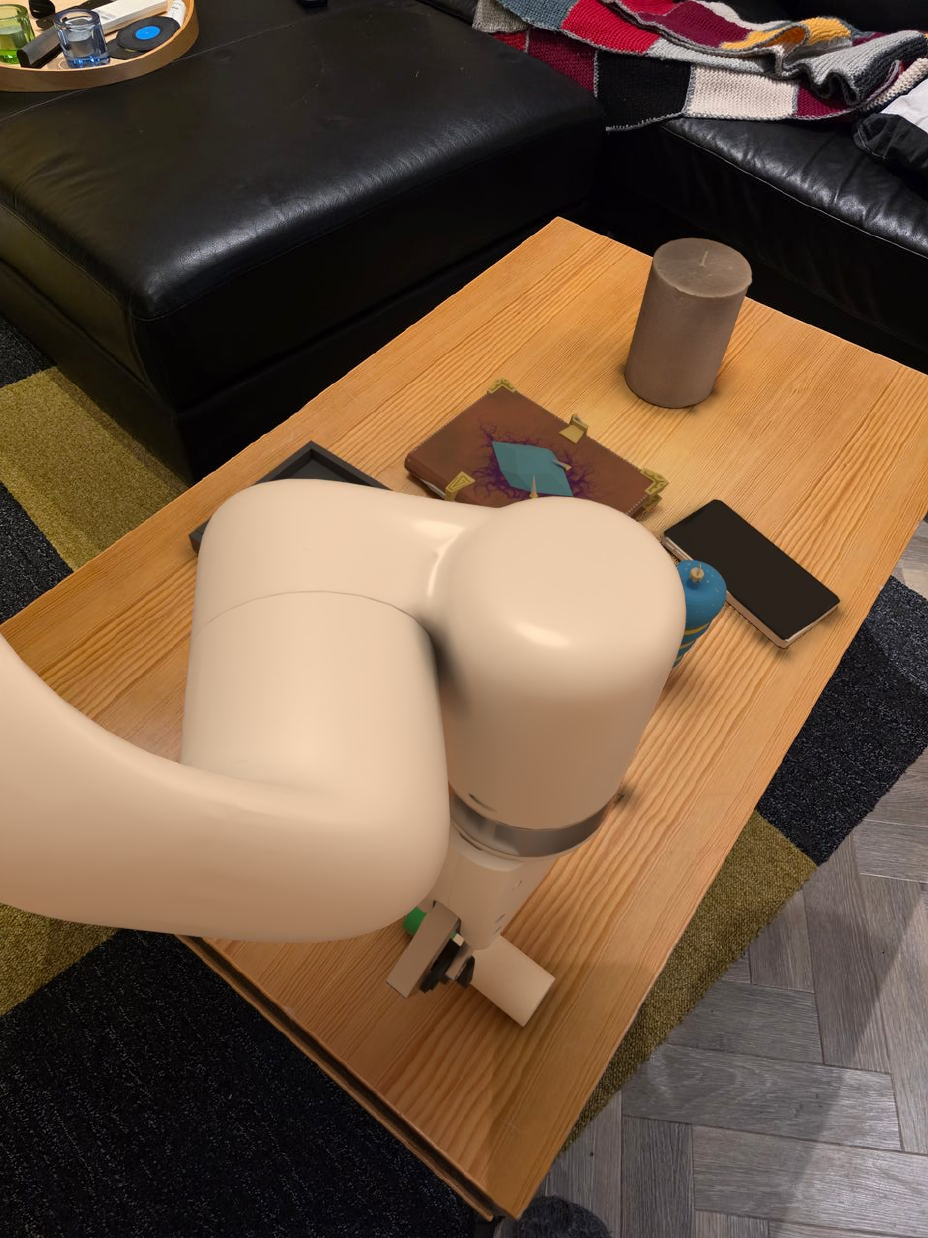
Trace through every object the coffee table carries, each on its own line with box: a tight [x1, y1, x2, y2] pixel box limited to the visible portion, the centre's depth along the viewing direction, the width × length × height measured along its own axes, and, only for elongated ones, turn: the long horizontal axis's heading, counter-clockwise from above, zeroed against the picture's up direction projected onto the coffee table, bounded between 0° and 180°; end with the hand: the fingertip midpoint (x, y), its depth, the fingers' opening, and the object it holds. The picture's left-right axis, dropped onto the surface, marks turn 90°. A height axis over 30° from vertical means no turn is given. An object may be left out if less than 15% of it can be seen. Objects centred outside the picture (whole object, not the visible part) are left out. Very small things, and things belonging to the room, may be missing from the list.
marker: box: [402, 906, 556, 1028], centre depth 58 cm, size 10×4×4 cm, turn 52°
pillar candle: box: [624, 237, 753, 409], centre depth 89 cm, size 10×10×15 cm
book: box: [403, 377, 670, 521], centre depth 82 cm, size 16×25×5 cm, turn 47°
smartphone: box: [660, 498, 841, 649], centre depth 80 cm, size 8×1×15 cm
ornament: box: [671, 560, 727, 670], centre depth 67 cm, size 5×5×15 cm
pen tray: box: [188, 439, 394, 555], centre depth 80 cm, size 16×11×2 cm
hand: (498, 894), depth 49 cm, fingers open, 9 cm apart
